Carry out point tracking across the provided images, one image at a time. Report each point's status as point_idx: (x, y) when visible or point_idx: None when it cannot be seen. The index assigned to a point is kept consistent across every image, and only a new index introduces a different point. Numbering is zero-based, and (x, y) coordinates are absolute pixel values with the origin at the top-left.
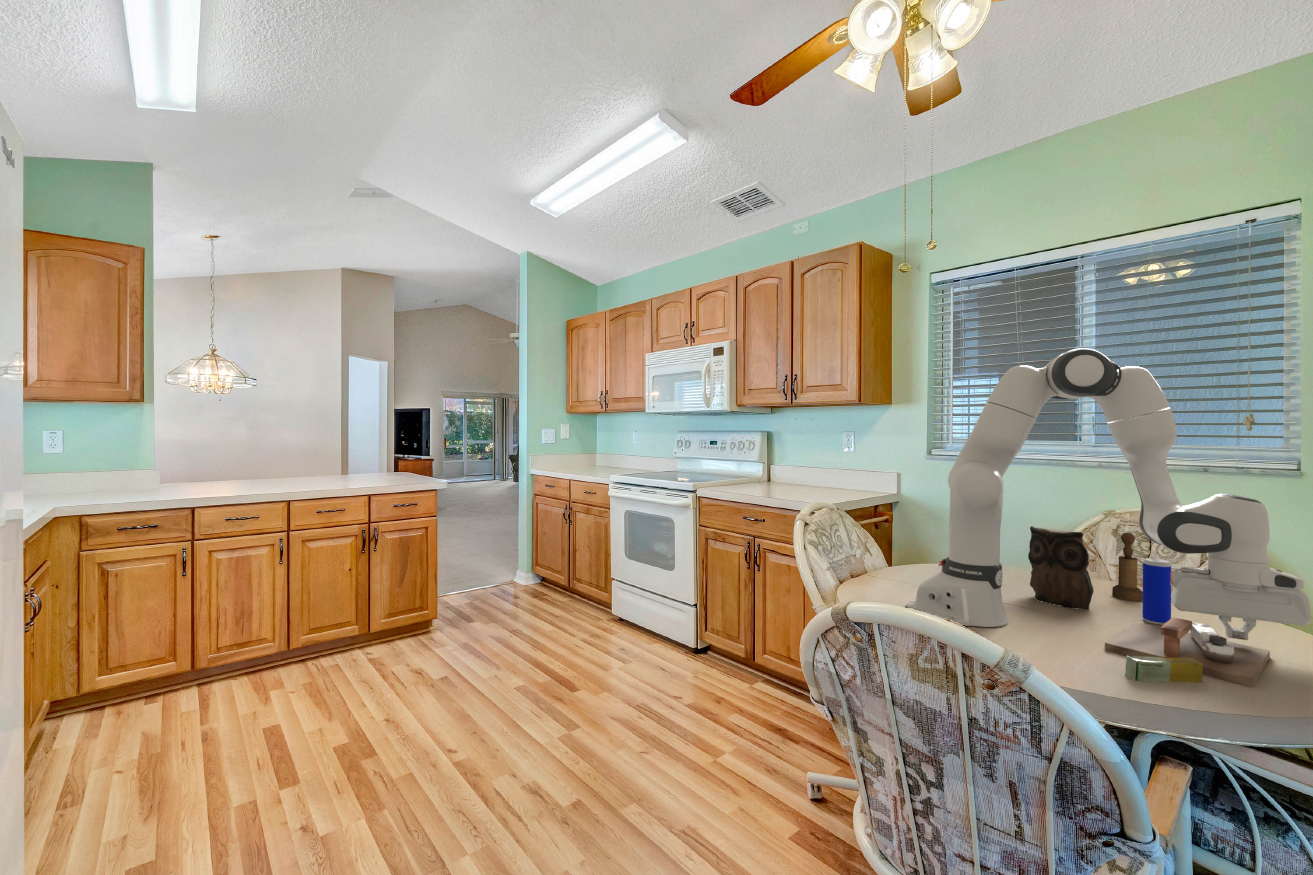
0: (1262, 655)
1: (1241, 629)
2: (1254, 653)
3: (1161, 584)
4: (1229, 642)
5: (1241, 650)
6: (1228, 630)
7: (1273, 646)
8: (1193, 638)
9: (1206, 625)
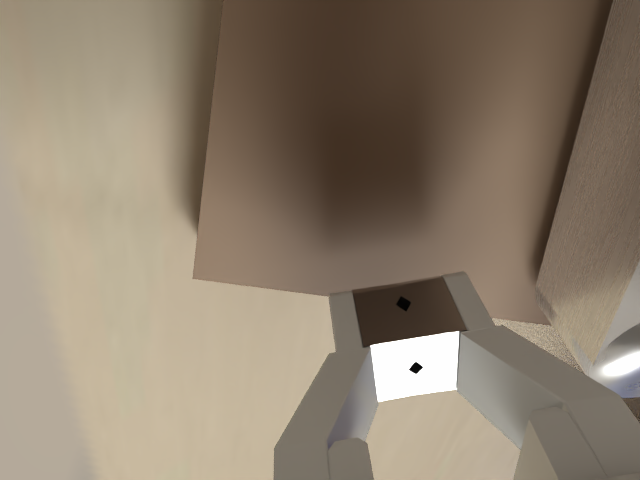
0: (241, 88)
1: (376, 389)
2: (297, 110)
3: None
4: None
5: (382, 137)
6: (490, 322)
7: (189, 428)
8: None
9: (615, 362)
